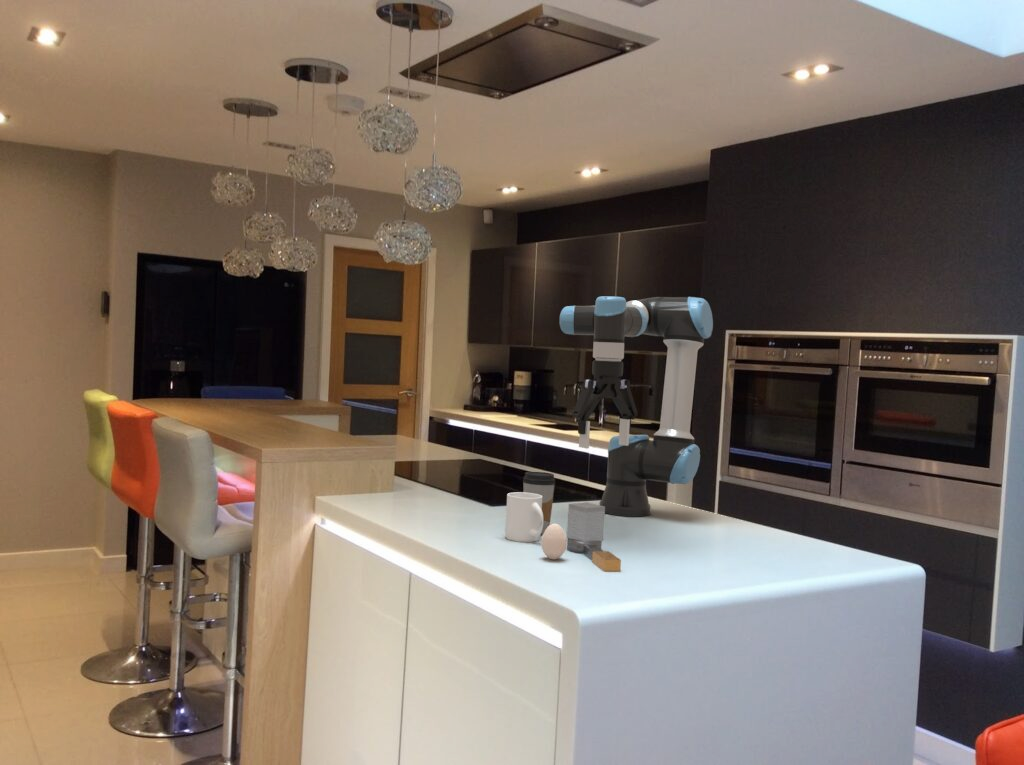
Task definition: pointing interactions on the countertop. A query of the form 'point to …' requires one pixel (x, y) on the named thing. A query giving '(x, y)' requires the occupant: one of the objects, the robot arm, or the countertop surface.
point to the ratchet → (595, 554)
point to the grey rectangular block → (585, 522)
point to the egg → (554, 541)
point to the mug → (524, 517)
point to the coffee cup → (541, 492)
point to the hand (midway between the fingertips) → (604, 446)
